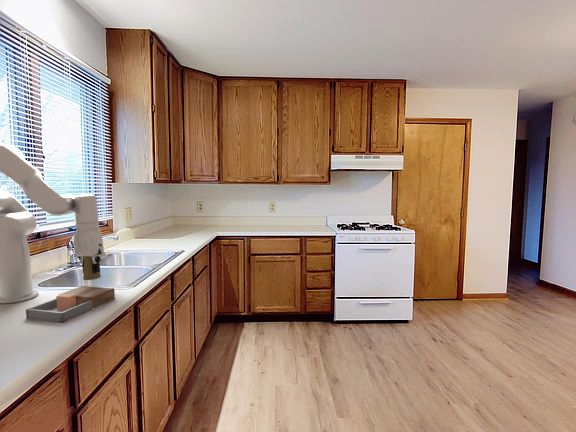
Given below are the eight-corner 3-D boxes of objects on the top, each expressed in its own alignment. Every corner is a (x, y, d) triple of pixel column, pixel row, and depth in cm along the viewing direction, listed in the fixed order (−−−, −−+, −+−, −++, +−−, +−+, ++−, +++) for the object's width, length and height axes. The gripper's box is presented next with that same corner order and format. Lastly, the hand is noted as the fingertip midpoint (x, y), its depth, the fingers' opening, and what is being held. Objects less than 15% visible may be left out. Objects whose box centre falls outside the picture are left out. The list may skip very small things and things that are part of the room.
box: (26, 318, 105) (25, 309, 105) (59, 305, 116) (58, 297, 116) (62, 322, 102) (61, 313, 101) (92, 308, 113) (92, 300, 112)
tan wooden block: (59, 305, 116) (58, 294, 116) (83, 296, 126) (82, 285, 125) (92, 308, 113) (92, 297, 112) (114, 298, 122) (114, 288, 122)
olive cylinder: (97, 274, 136) (95, 248, 135) (103, 277, 132) (101, 250, 131) (80, 278, 131) (78, 251, 130) (86, 281, 127) (84, 252, 126)
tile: (63, 308, 112) (57, 311, 110) (62, 293, 112) (56, 296, 109) (76, 309, 111) (70, 312, 109) (75, 294, 111) (69, 297, 108)
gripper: (61, 227, 128) (66, 274, 130) (97, 228, 124) (101, 276, 126) (78, 225, 135) (82, 269, 137) (113, 225, 131) (116, 271, 133)
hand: (91, 272), depth 131 cm, fingers closed on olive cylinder, 3 cm apart
